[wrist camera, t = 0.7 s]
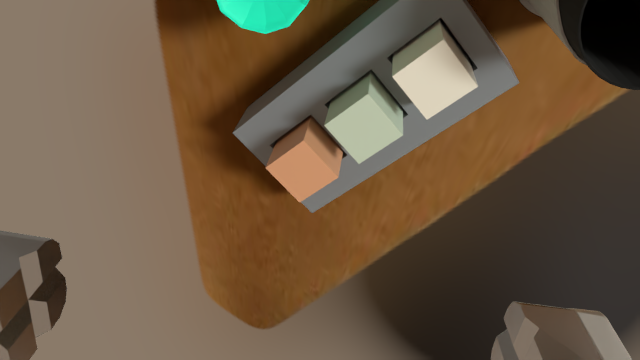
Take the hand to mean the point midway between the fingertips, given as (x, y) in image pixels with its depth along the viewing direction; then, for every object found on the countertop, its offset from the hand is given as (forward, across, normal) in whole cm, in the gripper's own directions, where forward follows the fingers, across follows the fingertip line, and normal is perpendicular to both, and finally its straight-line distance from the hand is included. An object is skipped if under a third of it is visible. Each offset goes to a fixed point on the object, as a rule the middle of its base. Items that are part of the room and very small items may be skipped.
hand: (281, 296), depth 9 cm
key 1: (+33, +1, +11) cm, 35 cm away
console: (+35, -3, +7) cm, 36 cm away
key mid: (+33, -3, +7) cm, 34 cm away
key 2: (+32, -7, +3) cm, 33 cm away
